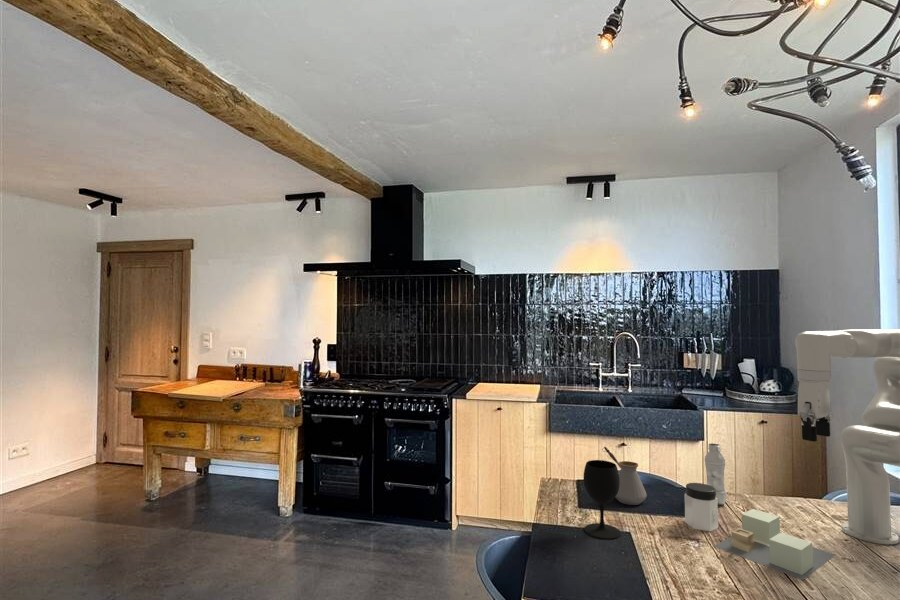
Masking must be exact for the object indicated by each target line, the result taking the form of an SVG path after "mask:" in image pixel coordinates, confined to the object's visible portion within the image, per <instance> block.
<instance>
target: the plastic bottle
mask: <svg viewBox="0 0 900 600" xmlns="http://www.w3.org/2000/svg"><path fill="white" fill-rule="evenodd" d="M721 451H722V448H721V444H718V443H708V452H707V453H706V454H705V456H704V465H705V471H706V473H705V474H706V483H705V484H706V485H710V486H712V487H714V488H715V490H716V498H717V500H718V506H720V505H725V503H727V498H728V497H727V493H726V488H725V486H726V485H725V469H726V459H725V457H724V455H723V454H722V453H721Z"/></svg>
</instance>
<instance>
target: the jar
mask: <svg viewBox="0 0 900 600" xmlns="http://www.w3.org/2000/svg"><path fill="white" fill-rule="evenodd" d="M706 484H707V483H702V482H689V483H686V484H685V493H684V523H685V524H686V525H688V526H689V527H691V528H692V529H694V530H700V531H706V532H712V531H716V530H717V529H719V511H718V509H719V507H718V506H719V505H718V500H717V498H716V490H715V488H714V487H712V486H710V485H706Z"/></svg>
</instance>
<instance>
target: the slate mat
mask: <svg viewBox="0 0 900 600" xmlns="http://www.w3.org/2000/svg"><path fill="white" fill-rule="evenodd" d="M713 547H714V548H718V549H720V550H722V551H725V552H728V553H730V554H734V555H736V556H738V557H742V559H743V558H744V559H746V560H748V561H751V562H754V563H757V564H759V565H762V566H764V567H767V568H770V569H772V570H775V571H777V572H781V573H782V574H786V575H788V576H791V577H793V578H796V579H798V580H801V581H804V580H805V579H807V578H808V577H809V576H811V575H812V574H813V573H815V572H816V571H817V570H818V569H819V568H821V567H822V566H824V565H825V564H826V563H827V562H829V560H831V559H832V558H834V557H835V556H836V555H837V554H835V553H832V552H829V551H826V550H823V549H820V548H817V547H813V546H812V547H813V567H812V568H811V569H810V570H808V571H807V572H806V573H804V574H803V575H800V574H798V573H795V572H792V571H790V570H787V569H784V568H782V567H779V566H776V565H774V564H771V563H770V546H769V544H766V543H764V542H761V541H758V540H755V539H754V549H752V550H750V551H749V552H746V551H743V550H740V549H738V548H735V547H732V535H731V536H729V537H727V538H726V539H723V540H722V541H720V542H718V543H716V544H715V545H713Z"/></svg>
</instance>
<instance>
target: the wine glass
mask: <svg viewBox="0 0 900 600" xmlns="http://www.w3.org/2000/svg"><path fill="white" fill-rule="evenodd" d="M583 486H584V489H585V491H586V493H587V494H588V496H589V497H590V498H591V499H592V501H594V502H595V503H596V504H598V505H599V513H600V514H599V516H600V519H599V520H600V522H597V523H594V522H593V523H589V524H586V525H584V532H585V533H586V534H587V535H588V536H590V537H592V538H594V537H595V539H598V538H599V539H598V540H603V539H612V540H616V539H619V538H620V537H619V536H621V531H620V530H619V528H617V527H615V526H613V525H610V524H606V523H605V519H604V515H605V514H604V513H605V506H606V505H607V504H608V503H610V502H612V501H613V500H614V499H616V498H615V496H616V495H617V493H618V491H619V486H620V478H619V470H618V465H617V463H614V462H612V461H609V460H603V459H591V460H588V461H586V462H585V465H584V471H583Z"/></svg>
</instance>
